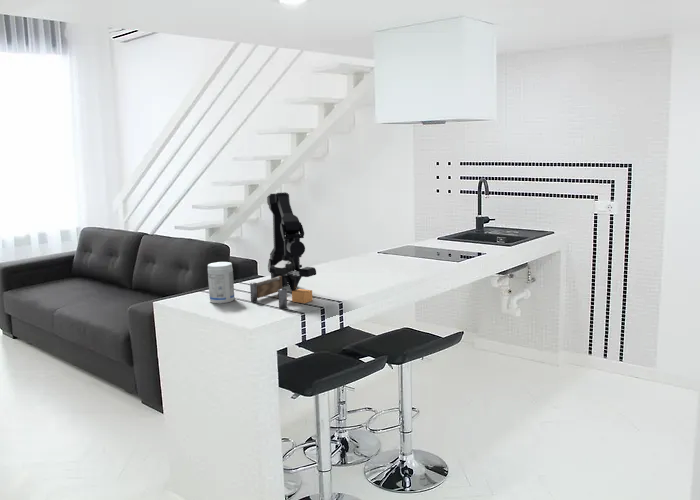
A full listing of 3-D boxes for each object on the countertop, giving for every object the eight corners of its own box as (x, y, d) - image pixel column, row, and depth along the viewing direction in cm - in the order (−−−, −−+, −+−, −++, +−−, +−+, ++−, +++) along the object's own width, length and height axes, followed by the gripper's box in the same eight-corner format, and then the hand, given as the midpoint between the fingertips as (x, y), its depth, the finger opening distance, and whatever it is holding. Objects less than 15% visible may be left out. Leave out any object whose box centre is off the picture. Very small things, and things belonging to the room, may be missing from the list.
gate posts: (249, 301, 253) (248, 283, 251) (255, 300, 255) (254, 282, 254) (282, 309, 240) (282, 290, 239) (288, 307, 242) (288, 288, 241)
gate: (258, 299, 254) (257, 283, 253) (255, 299, 255) (255, 282, 253) (282, 291, 266) (281, 276, 265) (279, 291, 267) (279, 275, 266)
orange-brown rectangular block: (292, 301, 252) (291, 291, 251) (300, 298, 256) (299, 288, 255) (304, 303, 248) (304, 292, 248) (312, 300, 252) (312, 290, 252)
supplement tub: (225, 296, 262) (223, 260, 259) (239, 300, 255) (237, 263, 253) (204, 301, 255) (202, 264, 252) (219, 305, 248) (216, 267, 246)
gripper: (259, 253, 249) (261, 293, 251) (298, 257, 239) (300, 299, 241) (277, 249, 258) (279, 288, 261) (316, 252, 248) (317, 293, 251)
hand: (293, 292), depth 253 cm, fingers closed
